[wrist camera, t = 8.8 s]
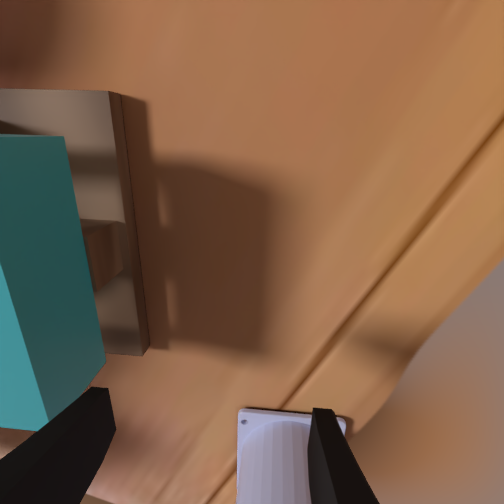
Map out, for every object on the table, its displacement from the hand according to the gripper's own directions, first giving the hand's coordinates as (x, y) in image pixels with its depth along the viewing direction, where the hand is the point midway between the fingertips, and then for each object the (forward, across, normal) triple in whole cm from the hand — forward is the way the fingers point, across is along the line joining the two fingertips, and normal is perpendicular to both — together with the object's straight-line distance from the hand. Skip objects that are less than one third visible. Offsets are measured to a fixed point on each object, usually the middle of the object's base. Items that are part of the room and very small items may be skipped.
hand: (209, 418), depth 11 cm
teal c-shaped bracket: (+5, +12, -3) cm, 14 cm away
